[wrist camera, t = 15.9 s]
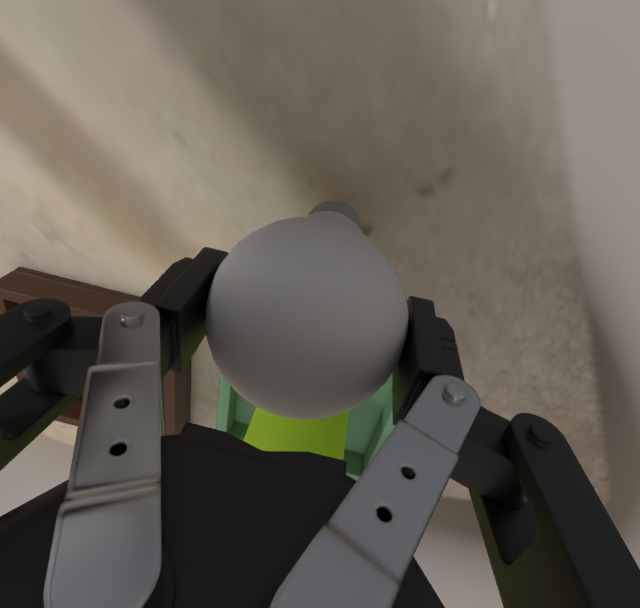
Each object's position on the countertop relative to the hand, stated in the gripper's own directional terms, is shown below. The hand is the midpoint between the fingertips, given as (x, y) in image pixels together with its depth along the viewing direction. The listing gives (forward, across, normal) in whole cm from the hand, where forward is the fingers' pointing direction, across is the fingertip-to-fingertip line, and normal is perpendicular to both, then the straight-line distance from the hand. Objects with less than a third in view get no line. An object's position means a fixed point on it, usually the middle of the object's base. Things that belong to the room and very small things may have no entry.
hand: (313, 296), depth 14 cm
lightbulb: (+7, 0, 0) cm, 7 cm away
